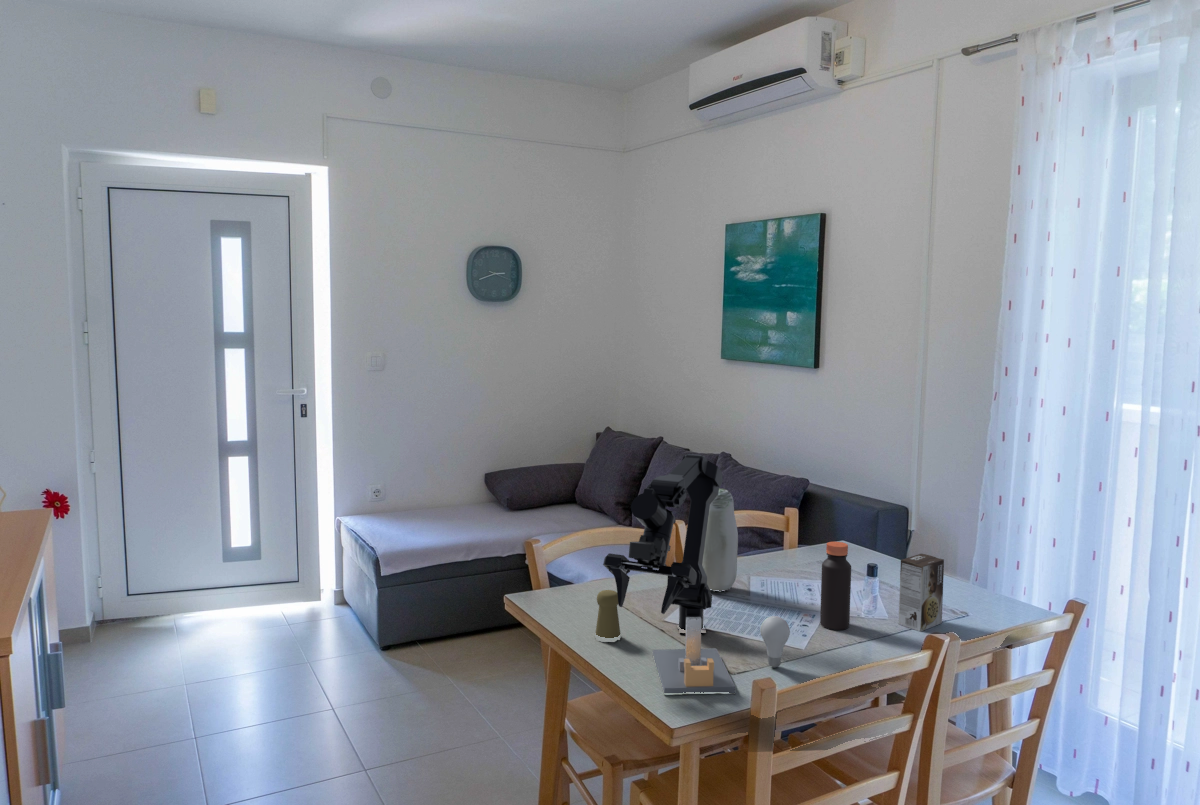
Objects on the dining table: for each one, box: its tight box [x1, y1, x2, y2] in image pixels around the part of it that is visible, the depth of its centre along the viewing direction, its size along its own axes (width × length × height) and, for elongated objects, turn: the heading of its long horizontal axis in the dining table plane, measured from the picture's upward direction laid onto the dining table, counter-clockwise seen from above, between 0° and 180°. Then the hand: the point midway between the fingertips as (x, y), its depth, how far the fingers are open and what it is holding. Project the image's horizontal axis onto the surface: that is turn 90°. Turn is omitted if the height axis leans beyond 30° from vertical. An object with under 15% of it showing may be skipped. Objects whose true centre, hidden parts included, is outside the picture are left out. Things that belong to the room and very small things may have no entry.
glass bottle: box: [702, 487, 739, 591], centre depth 223 cm, size 10×10×28 cm
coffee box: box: [898, 553, 945, 632], centre depth 199 cm, size 9×6×16 cm
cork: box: [595, 589, 621, 638], centre depth 190 cm, size 6×6×11 cm
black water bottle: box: [819, 541, 852, 631], centre depth 198 cm, size 7×7×20 cm
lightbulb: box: [759, 615, 791, 668], centre depth 174 cm, size 6×6×11 cm
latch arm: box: [684, 617, 702, 666], centre depth 169 cm, size 10×3×1 cm
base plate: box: [652, 647, 736, 694], centre depth 171 cm, size 19×14×6 cm
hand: (641, 610), depth 166 cm, fingers open, 9 cm apart
